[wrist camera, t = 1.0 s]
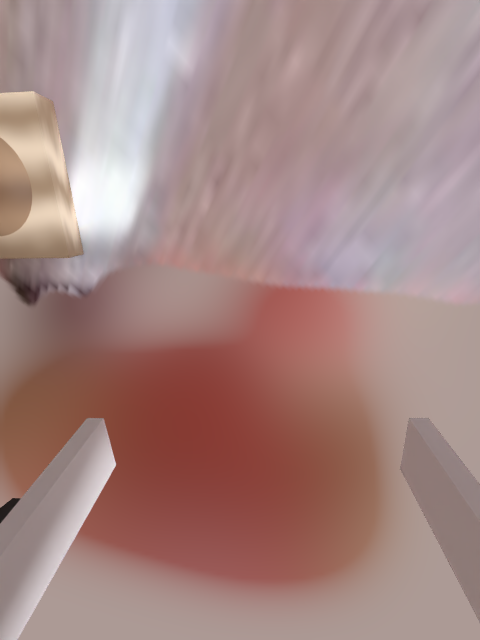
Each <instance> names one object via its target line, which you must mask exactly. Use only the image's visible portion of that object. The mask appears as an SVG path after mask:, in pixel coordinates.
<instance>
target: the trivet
mask: <svg viewBox="0 0 480 640" xmlns="http://www.w3.org/2000/svg"><path fill="white" fill-rule="evenodd" d="M82 254H84V253H83V248H82V243H81V238H80V233H79V228H78V223H77V218H76V213H75V208H74V203H73V198H72V193H71V188H70V183H69V178H68V174H67V169H66V164H65V159H64V154H63V149H62V144H61V139H60V134H59V129H58V124H57V119H56V114H55V109H54V104H53V101H51V100H49V99H47V98H45V97H43V96H41V95H39V94H37V93H35V92H33V91H30V92H12V93H0V259H7V258H70V257H74V256H78V255H82Z"/></svg>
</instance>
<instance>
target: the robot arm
mask: <svg viewBox="0 0 480 640" xmlns="http://www.w3.org/2000/svg"><path fill="white" fill-rule="evenodd" d="M115 466H116V463H115V460H114V456H113V452H112V448H111V445H110V441H109V437H108V433H107V430H106V427H105V422H104V419H103V418H87V419H86V420H85V422H84V423H83V424H82V425H81V426H80V428H79V429H78V430H77V431H76V433H75V434H74V435H73V436H72V437H71V438H70V440H69V441H68V442H67V443H66V445H65V446H64V447H63V448H62V449H61V451H60V452H59V453H58V454H57V455H56V457H55V458H54V459H53V460H52V462H51V463H50V464H49V465H48V467H47V468H46V469H45V470H44V471H43V473H42V474H41V475H40V476H39V477H38V479H37V480H36V481H35V482H34V483H33V485H32V486H31V487H30V488H29V490H28V491H27V492H26V493H25V494H24V496H23V497H22V498H21V499H19V498H12V499H11V500H10V501H9V502H7V503H6V504H5V505H4V506H2V507H1V508H0V640H17V639H18V637H19V636H20V634H21V632H22V630H23V629H24V627H25V625H26V623H27V622H28V620H29V618H30V616H31V614H32V613H33V611H34V609H35V607H36V606H37V604H38V602H39V600H40V599H41V597H42V595H43V593H44V592H45V589H46V588H47V586H48V584H49V583H50V581H51V579H52V577H53V576H54V574H55V572H56V570H57V569H58V567H59V565H60V563H61V561H62V560H63V558H64V556H65V554H66V553H67V551H68V549H69V547H70V546H71V544H72V542H73V540H74V538H75V537H76V535H77V533H78V531H79V530H80V528H81V526H82V524H83V523H84V521H85V519H86V517H87V515H88V514H89V512H90V510H91V508H92V507H93V505H94V503H95V501H96V500H97V497H98V496H99V494H100V492H101V491H102V489H103V487H104V485H105V483H106V482H107V480H108V478H109V477H110V474H111V473H112V471H113V469H114V468H115ZM400 469H401V471H402V473H403V475H404V477H405V479H406V481H407V483H408V485H409V487H410V489H411V491H412V493H413V495H414V496H415V498H416V500H417V502H418V504H419V506H420V508H421V510H422V512H423V514H424V516H425V518H426V520H427V522H428V524H429V525H430V527H431V529H432V531H433V533H434V535H435V537H436V539H437V541H438V543H439V545H440V547H441V549H442V550H443V552H444V554H445V556H446V558H447V560H448V562H449V564H450V566H451V568H452V570H453V572H454V574H455V576H456V578H457V579H458V581H459V583H460V585H461V587H462V589H463V591H464V593H465V595H466V597H467V599H468V601H469V603H470V605H471V606H472V608H473V610H474V612H475V614H476V616H477V618H478V620H479V622H480V484H479V482H478V481H477V480H476V479H475V477H474V476H473V475H472V474H471V472H470V471H469V470H468V468H467V467H466V466H465V464H464V463H463V462H462V461H461V459H460V458H459V457H458V455H457V454H456V453H455V452H454V450H453V449H452V448H451V446H450V445H449V444H448V443H447V441H446V440H445V439H444V437H443V436H442V435H441V433H440V432H439V431H438V430H437V428H436V427H435V426H434V424H433V423H432V422H431V421H430V419H429V418H409V421H408V427H407V433H406V438H405V444H404V450H403V456H402V461H401V467H400Z"/></svg>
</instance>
